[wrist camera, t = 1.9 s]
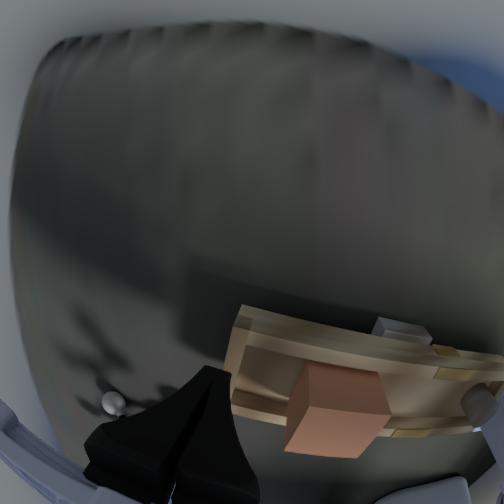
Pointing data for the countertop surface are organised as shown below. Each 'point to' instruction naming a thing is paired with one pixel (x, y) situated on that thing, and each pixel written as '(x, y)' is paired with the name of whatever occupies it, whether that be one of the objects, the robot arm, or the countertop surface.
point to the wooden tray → (367, 358)
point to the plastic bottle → (432, 493)
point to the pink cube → (335, 410)
